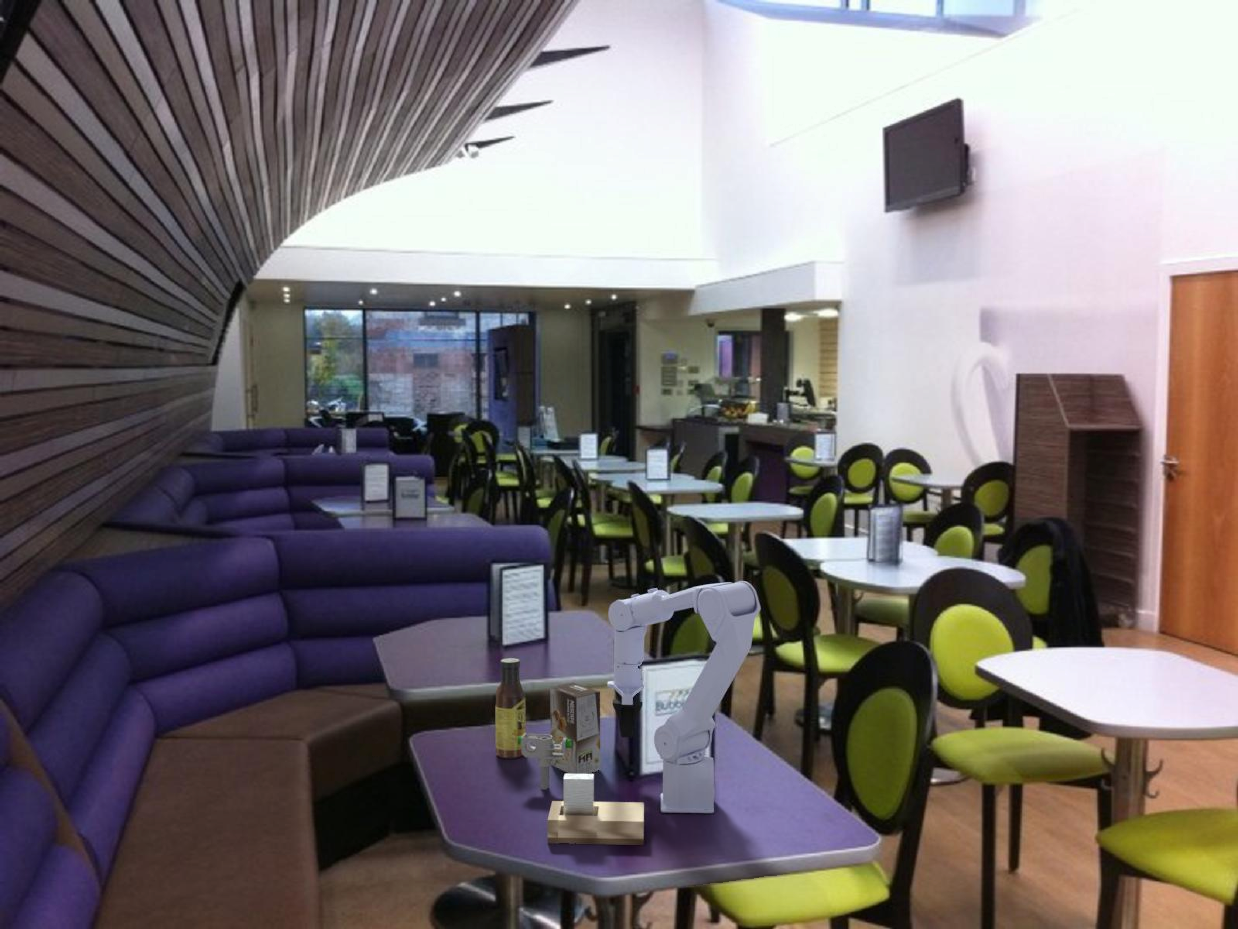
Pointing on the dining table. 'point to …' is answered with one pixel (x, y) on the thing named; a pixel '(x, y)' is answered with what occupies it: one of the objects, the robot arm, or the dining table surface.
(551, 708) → the coffee box
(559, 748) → the mechanical component
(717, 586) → the robot arm
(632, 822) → the slotted wooden block
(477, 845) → the dining table surface
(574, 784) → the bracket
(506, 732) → the sauce bottle
